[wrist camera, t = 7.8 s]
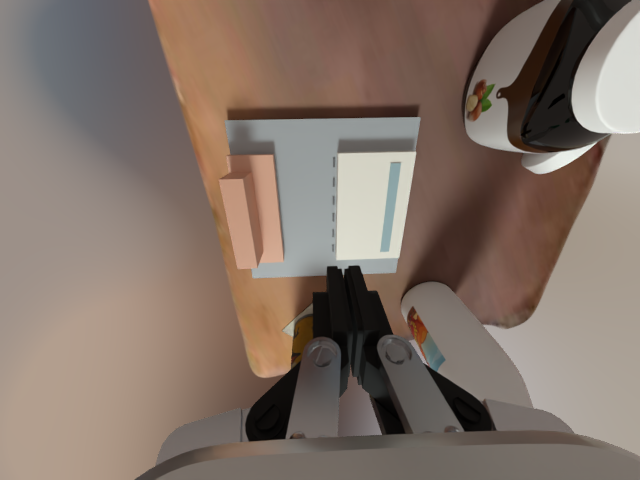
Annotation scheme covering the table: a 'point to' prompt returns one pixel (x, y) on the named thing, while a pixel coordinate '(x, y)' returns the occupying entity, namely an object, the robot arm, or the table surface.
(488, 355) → the milk bottle
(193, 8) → the table surface
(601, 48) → the spread jar
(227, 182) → the stub
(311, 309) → the condiment
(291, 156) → the board
